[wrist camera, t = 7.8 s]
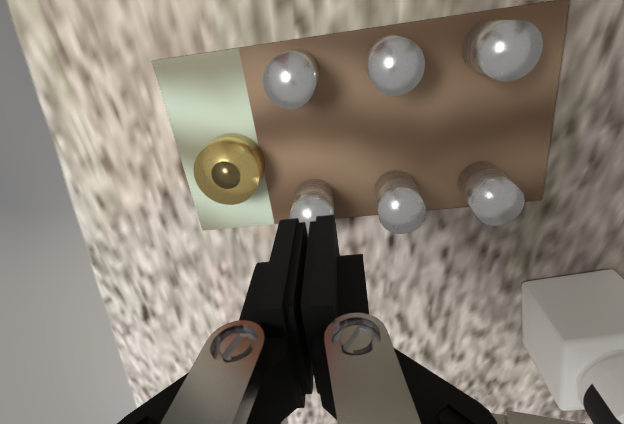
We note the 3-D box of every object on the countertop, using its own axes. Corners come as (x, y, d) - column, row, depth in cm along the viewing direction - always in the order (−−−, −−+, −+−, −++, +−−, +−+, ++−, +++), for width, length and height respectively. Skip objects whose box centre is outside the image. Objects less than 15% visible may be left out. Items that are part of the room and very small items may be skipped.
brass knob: (194, 143, 28) (181, 154, 26) (251, 124, 27) (243, 134, 25) (220, 197, 30) (210, 212, 28) (274, 181, 29) (268, 195, 27)
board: (156, 60, 26) (151, 61, 26) (562, -1, 23) (569, -2, 22) (205, 225, 32) (202, 230, 31) (536, 195, 29) (541, 200, 28)
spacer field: (270, 51, 25) (257, 57, 21) (514, 16, 23) (546, 15, 19) (298, 216, 30) (292, 242, 26) (499, 197, 28) (522, 223, 25)
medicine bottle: (606, 332, 34) (727, 475, 23) (521, 342, 35) (598, 483, 25) (613, 266, 31) (755, 396, 20) (519, 280, 32) (608, 410, 22)
